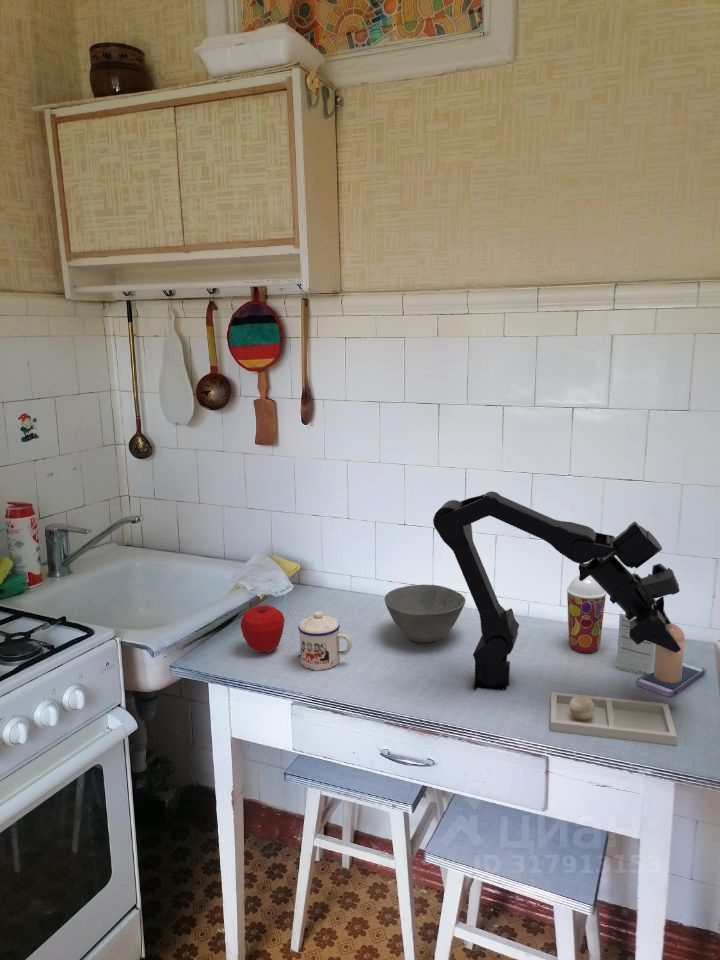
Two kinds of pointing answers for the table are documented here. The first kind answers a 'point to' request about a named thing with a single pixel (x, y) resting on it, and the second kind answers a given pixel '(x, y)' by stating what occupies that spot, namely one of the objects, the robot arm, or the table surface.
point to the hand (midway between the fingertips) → (678, 644)
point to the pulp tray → (616, 719)
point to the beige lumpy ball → (581, 707)
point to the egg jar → (670, 658)
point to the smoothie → (585, 614)
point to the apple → (262, 627)
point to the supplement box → (634, 650)
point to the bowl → (424, 610)
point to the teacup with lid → (321, 641)
